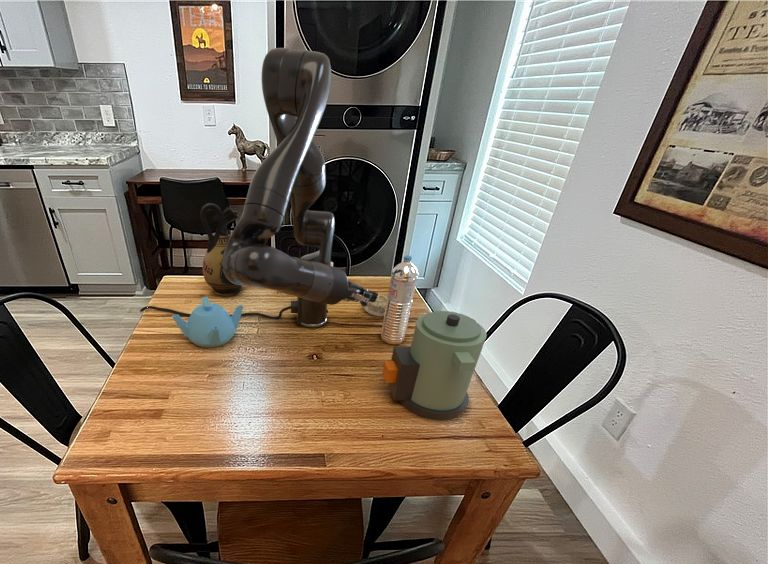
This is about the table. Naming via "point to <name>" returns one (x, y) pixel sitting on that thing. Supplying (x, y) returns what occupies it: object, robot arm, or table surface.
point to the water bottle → (399, 302)
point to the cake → (377, 306)
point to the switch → (390, 371)
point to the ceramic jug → (218, 251)
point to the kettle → (438, 365)
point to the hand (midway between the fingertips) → (374, 296)
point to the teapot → (209, 324)
